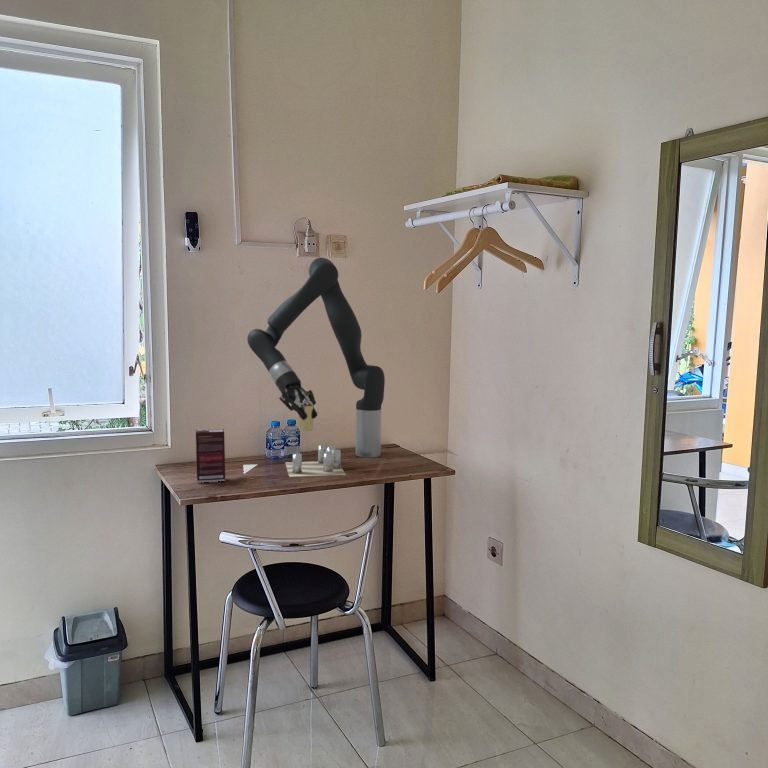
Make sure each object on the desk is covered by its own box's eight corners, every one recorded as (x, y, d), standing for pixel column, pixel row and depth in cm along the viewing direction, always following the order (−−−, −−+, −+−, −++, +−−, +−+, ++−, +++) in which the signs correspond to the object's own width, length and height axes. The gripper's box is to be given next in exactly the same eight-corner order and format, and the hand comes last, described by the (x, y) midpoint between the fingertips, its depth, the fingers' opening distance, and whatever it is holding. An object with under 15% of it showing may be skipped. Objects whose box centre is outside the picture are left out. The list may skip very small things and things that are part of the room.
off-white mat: (243, 465, 236) (243, 464, 236) (273, 465, 238) (273, 463, 238) (243, 478, 219) (243, 477, 219) (275, 477, 221) (275, 476, 221)
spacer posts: (289, 462, 238) (289, 445, 237) (336, 461, 241) (336, 444, 241) (292, 473, 222) (292, 455, 222) (343, 472, 226) (343, 454, 225)
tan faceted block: (301, 428, 231) (302, 404, 230) (313, 428, 230) (314, 404, 229) (298, 430, 226) (298, 406, 225) (310, 431, 226) (310, 406, 225)
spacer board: (285, 465, 238) (285, 462, 238) (337, 463, 242) (337, 460, 242) (289, 479, 219) (289, 476, 219) (346, 477, 222) (346, 474, 222)
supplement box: (224, 478, 219) (224, 428, 217) (225, 482, 215) (224, 431, 213) (196, 479, 217) (195, 429, 215) (196, 483, 212) (195, 432, 211)
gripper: (274, 371, 225) (301, 412, 219) (305, 369, 236) (331, 408, 230) (263, 386, 229) (288, 427, 223) (294, 383, 240) (319, 422, 234)
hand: (310, 417), depth 227 cm, fingers closed on tan faceted block, 4 cm apart
